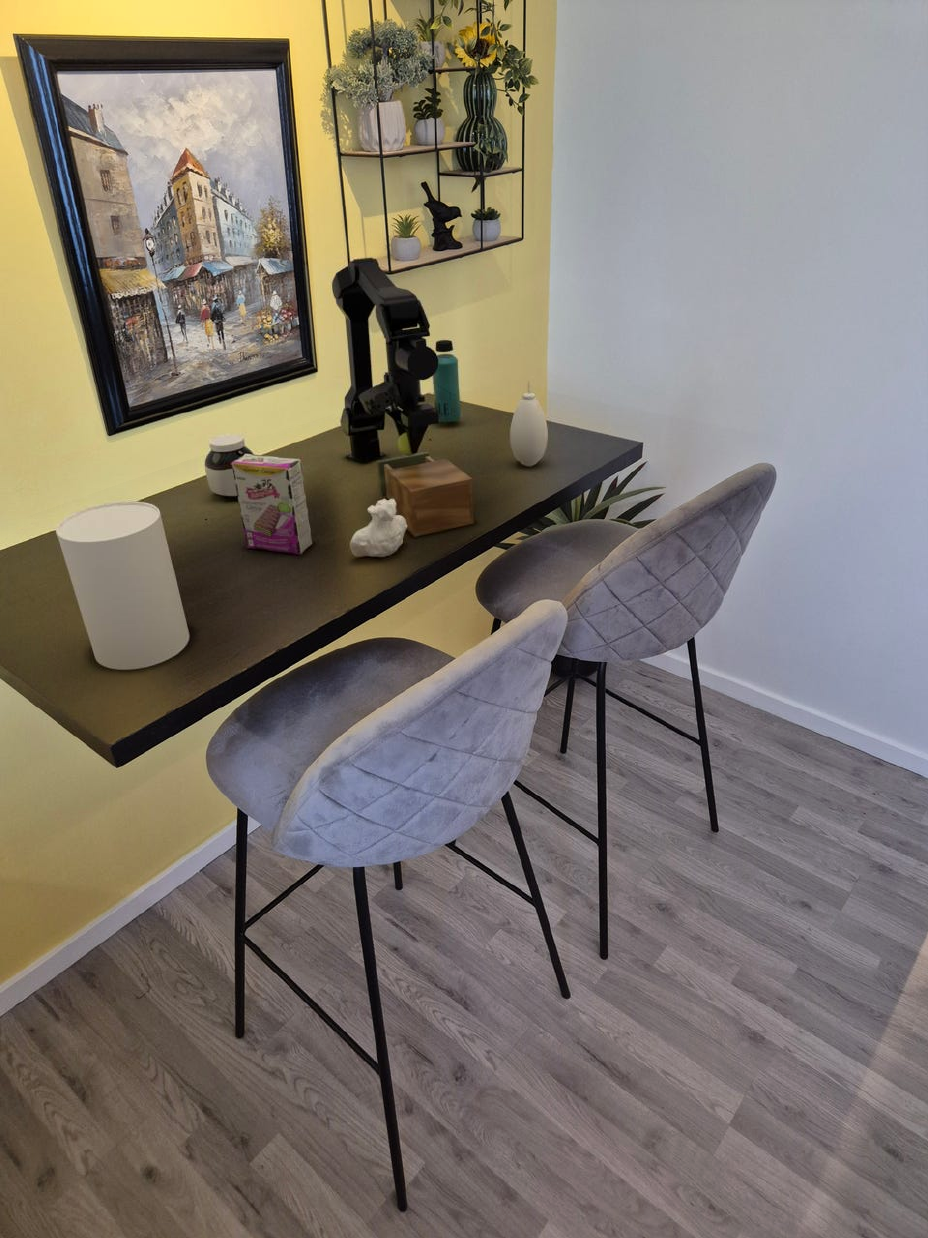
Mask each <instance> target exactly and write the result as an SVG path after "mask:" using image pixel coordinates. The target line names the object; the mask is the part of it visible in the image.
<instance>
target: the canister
mask: <svg viewBox="0 0 928 1238" xmlns="http://www.w3.org/2000/svg"><path fill="white" fill-rule="evenodd" d="M55 533H56V537H57V540H58V543H59V545H60V549H61V552H62V555H63V559H64V562H65V566H66V569H67V572H68V575H69V579H70V582H71V584H72V585H71V586H72V588H73V591H74V594H75V597H76V601H77V604H78V608H79V610H80V614H81V617H82V620H83V624H84V627H85V630H86V634H87V636H88V640H89V643H90V646H91V649H92V652H93V655H94V658H95V661H96V662H97V663H98V664H99V665H101V666H103V667H105V668H107V669H112V670H120V671H121V670H122V671H126V670H130V671H131V670H137V669H144V668H148V667H152V666H156V665H157V664H158V665H159V664H161V663H163V662H165V661H167V660H170V659H171V658H173V657H174V656H176V655H178V654H179V653H180V652H181V651H183V649H185V647H186V646H187V645H188V643H189V640H190V632H189V628H188V624H187V619H186V615H185V611H184V607H183V602H182V599H181V594H180V591H179V587H178V582H177V577H176V573H175V570H174V565H173V561H172V557H171V553H170V549H169V545H168V540H167V536H166V531H165V527H164V524H163V520H162V516H161V510H160V509H159V508H158V507H157V506H155V505H154V504H152V503H150V502H149V503H148V502H145V501H144V502H143V501H134V500H133V501H132V500H129V501H127V500H125V501H114V502H113V501H112V502H107V503H106V502H105V503H102V504H97V505H93V506H89V507H87V508H84V509H81V510H78V511H76V512H73V513H71V514H70V515H68V516H66V517H65V518H63V519H62V520H61V521H60V522H59V523H58V525H57V526H56V528H55Z"/></svg>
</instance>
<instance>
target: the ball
mask: <svg viewBox="0 0 928 1238" xmlns="http://www.w3.org/2000/svg"><path fill="white" fill-rule="evenodd" d="M397 439H398V440H397V448H398V450H399V452H400V453H401V454H402V455H403V456H405V455H407V456H412V455H414V454H412V453H411V451H410V447H409V443H408V438H407V434H406V433H404V434H402V435H401V436H400V437H399V436H398V438H397ZM421 445H422V443H421V444H420V447H419V449H418V452H420V449H421ZM415 454H416V453H415Z"/></svg>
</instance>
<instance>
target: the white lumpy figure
mask: <svg viewBox="0 0 928 1238" xmlns="http://www.w3.org/2000/svg"><path fill="white" fill-rule="evenodd" d="M396 512H397V510H396V502H395V500H394V499H390V500H389V499H388V500H387V499H386V498H383V499H380V500H377V501H376V504H375V505H374V504H371V505H370V506H369V507H367V513H368V514H370V515H371V518H372V519H371V521H370V522H369V523H368V525H366V526H365V527H363V528H360V529H358V530H357V531H355V533H353V536H352V537H351V540H350V542H349V549H350V551H351V553H352V555H353V556H354V557H356V558H361V557H372V558H374V557H375V558H385V557H387V556H388V557H389V556H391V555H392V554H395V552H397V551H398V549H399V548H400V547H401V546H402V544H404V540H403V539H404V536H405V534H406V532H407V529H406V528H407V524H406V520H405V518H404V517H403V516H400V515H396Z"/></svg>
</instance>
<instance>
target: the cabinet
mask: <svg viewBox="0 0 928 1238" xmlns="http://www.w3.org/2000/svg"><path fill="white" fill-rule="evenodd" d="M388 478H389V489H390V499H394V500H395V502H396V510H397V512H396V515H400V516H403V517H404V518H405V520H406V524H407V528H406V531H408V533H410V534H411V535H412V536H413V537H414V538H416V537H417V538H418V537H422V536H426V535H429V534H434V533H439V532H443V531H448V530H452V529H456V528H461V527H464V526H469V525H474V523H475V522H474V499H473V478H472V477H470V476H469V474H466V473H465V472H464V471H462V470H461V469H460V468H459V467H457V465H455V464H453V463H452V462H451V461H449V460H448V459H447V458H444V459H439V460H435V461H433V462H428V463H423V464H418V465H413V466H408V467H403V468H398V469H393V470H388Z"/></svg>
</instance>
